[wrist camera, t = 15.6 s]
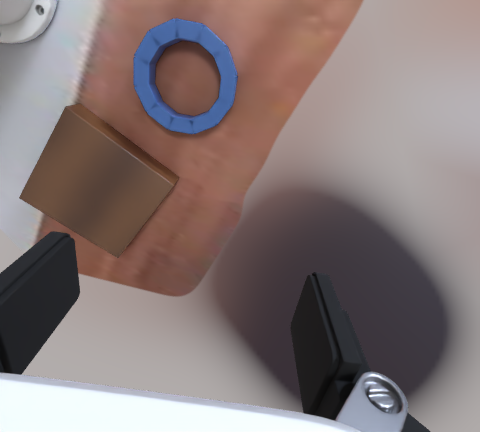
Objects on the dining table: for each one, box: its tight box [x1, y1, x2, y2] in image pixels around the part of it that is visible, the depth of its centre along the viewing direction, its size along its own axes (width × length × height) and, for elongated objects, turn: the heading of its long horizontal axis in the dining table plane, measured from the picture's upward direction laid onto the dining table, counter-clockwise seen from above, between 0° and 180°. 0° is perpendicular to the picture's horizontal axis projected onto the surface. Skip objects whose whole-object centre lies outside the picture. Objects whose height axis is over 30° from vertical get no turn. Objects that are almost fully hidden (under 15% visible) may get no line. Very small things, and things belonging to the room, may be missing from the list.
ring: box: [134, 18, 238, 134], centre depth 31 cm, size 11×11×2 cm
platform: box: [19, 104, 179, 258], centre depth 37 cm, size 14×14×3 cm
